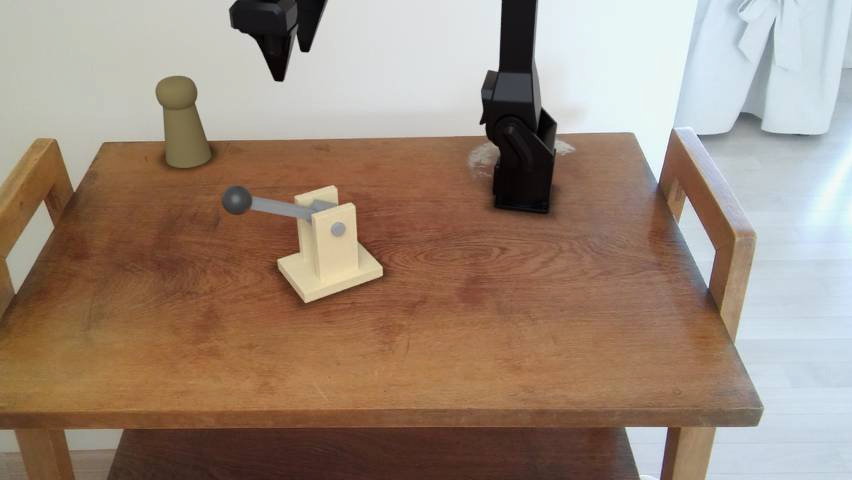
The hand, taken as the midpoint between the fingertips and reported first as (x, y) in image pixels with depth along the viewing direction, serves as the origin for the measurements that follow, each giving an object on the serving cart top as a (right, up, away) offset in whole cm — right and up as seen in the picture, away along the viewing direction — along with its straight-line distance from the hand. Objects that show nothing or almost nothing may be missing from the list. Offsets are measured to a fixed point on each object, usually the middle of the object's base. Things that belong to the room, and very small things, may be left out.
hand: (292, 66), depth 90 cm
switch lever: (0, -19, -15) cm, 24 cm away
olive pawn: (-16, -9, +14) cm, 23 cm away
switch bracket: (+5, -24, -8) cm, 26 cm away
